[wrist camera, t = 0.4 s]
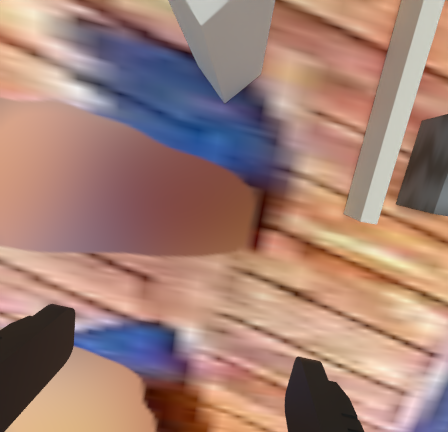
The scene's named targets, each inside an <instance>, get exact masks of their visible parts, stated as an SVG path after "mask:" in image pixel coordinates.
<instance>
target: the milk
mask: <svg viewBox="0 0 448 432" xmlns="http://www.w3.org/2000/svg"><path fill="white" fill-rule="evenodd" d="M168 1H169V3H170V5H171V7H172V10H173V12H174V14H175V16H176V18H177V21H178V23H179V25H180V27H181V29H182V32H183V34H184V36H185V38H186V41H187V43H188V45H189V47H190V49H191V52H192V54H193V56H194V58H195V60H196V63H197V65H198V67H199V68H200V69H201V71H202V72H203V74H204V75H205V77H206V78H207V79H208V81H209V82H210V84H211V85H212V87H213V88H214V89H215V91H216V92H217V94H218V95H219V97H220V98H221V99H222V101H223V102H224V103H226V102H228V101H229V100H230V99H231V98H233V97H234V96H235V95H236V94H237V93H239V92H240V91H241V90H242V89H244V88H245V87H246V86H247V85H248V84H250V83H251V82H252V81H253V80H255V79H256V78H257V77H258V76H259V75H261V72H262V66H263V61H264V56H265V51H266V46H267V40H268V35H269V30H270V25H271V19H272V14H273V9H274V4H275V0H168Z"/></svg>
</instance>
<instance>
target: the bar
mask: <svg viewBox="0 0 448 432" xmlns="http://www.w3.org/2000/svg"><path fill="white" fill-rule="evenodd" d="M396 204H397V205H401V206H405V207H408V208H412V209H416V210H420V211H424V212H428V213H432V214H438V215H444V216H448V114H446V115H442V116H439V117H435V118H431V119H427V120H423V121H422V122H421V125H420V129H419V132H418V135H417V138H416V141H415V145H414V148H413V151H412V154H411V157H410V160H409V164H408V167H407V170H406V173H405V176H404V180H403V183H402V186H401V189H400V192H399V195H398V199H397V202H396Z"/></svg>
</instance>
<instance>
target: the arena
mask: <svg viewBox="0 0 448 432" xmlns="http://www.w3.org/2000/svg"><path fill="white" fill-rule="evenodd" d="M444 1H445V0H401V4H400V8H399V11H398V15H397V19H396V22H395V26H394V30H393V33H392V37H391V41H390V45H389V48H388V52H387V56H386V59H385V63H384V67H383V70H382V74H381V78H380V81H379V85H378V89H377V92H376V96H375V100H374V104H373V107H372V111H371V115H370V118H369V122H368V126H367V129H366V133H365V137H364V140H363V144H362V148H361V152H360V155H359V159H358V163H357V166H356V170H355V174H354V177H353V181H352V185H351V188H350V192H349V196H348V200H347V203H346V207H345V211H344V214H345V215H347V216H349V217H352V218H354V219H356V220H358V221H360V222H366V223H371V224H377V222H378V219H379V216H380V212H381V209H382V206H383V203H384V199H385V196H386V193H387V189H388V186H389V183H390V179H391V176H392V173H393V170H394V166H395V163H396V160H397V156H398V153H399V150H400V146H401V143H402V140H403V137H404V133H405V130H406V127H407V123H408V120H409V117H410V113H411V110H412V107H413V104H414V100H415V97H416V94H417V90H418V87H419V84H420V80H421V77H422V74H423V71H424V67H425V64H426V61H427V57H428V54H429V51H430V47H431V44H432V41H433V38H434V34H435V31H436V28H437V24H438V21H439V18H440V14H441V11H442V8H443V5H444Z"/></svg>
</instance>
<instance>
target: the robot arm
mask: <svg viewBox="0 0 448 432" xmlns="http://www.w3.org/2000/svg"><path fill="white" fill-rule="evenodd" d="M74 329H75V310H74V309H73V308H69V307H64V306H60V305H55V304H50V305H48V306H46V307H45V308H43V309H42V310H41V311H39V312H38V313H36V314H35V315H34V316H27V317H25V318H23V319H20V320H18V321H16V322H13V323H11V324H9V325H7V326H6V327H4V328H3V329H2V330H0V432H4V431H5V430H6V429H7V428H8V427H9V426H10V425H11V424H12V423H13V421H14V420H15V419H16V418H17V417H18V416H19V415H20V414H21V412H22V411H23V410H24V409H25V408H26V407H27V406H28V405H29V404H30V402H31V401H32V400H33V399H34V398H35V397H36V396H37V395H38V394H39V392H40V391H41V390H42V389H43V388H44V387H45V386H46V385H47V384H48V382H49V381H50V380H51V379H52V378H53V377H54V376H55V374H56V373H57V372H58V371H59V370H60V369H61V368H62V367H63V366H64V364H65V363H66V362H67V360H68V359H69V357H70V355H71V352H72V350H73V346H74ZM285 416H286V422H287V428H288V432H364V430H363V428H362V425H361V423H360V421H359V420H358V419H357V414H356V412H355V410H354V408H353V406H352V403H351V401H350V399H349V397H348V396H347V395H346V394H345V392H344V391H343V390H342V389H341V388H340V386H339V385H338V384H337V383H336V382H333V381H329V380H328V378H327V375H326V373H325V370H324V368H323V365H322V363H321V362H320V361H316V360H312V359H307V358H302V357H297V358H296V359H295V362H294V366H293V369H292V373H291V376H290V380H289V383H288V387H287V390H286V395H285Z"/></svg>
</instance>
